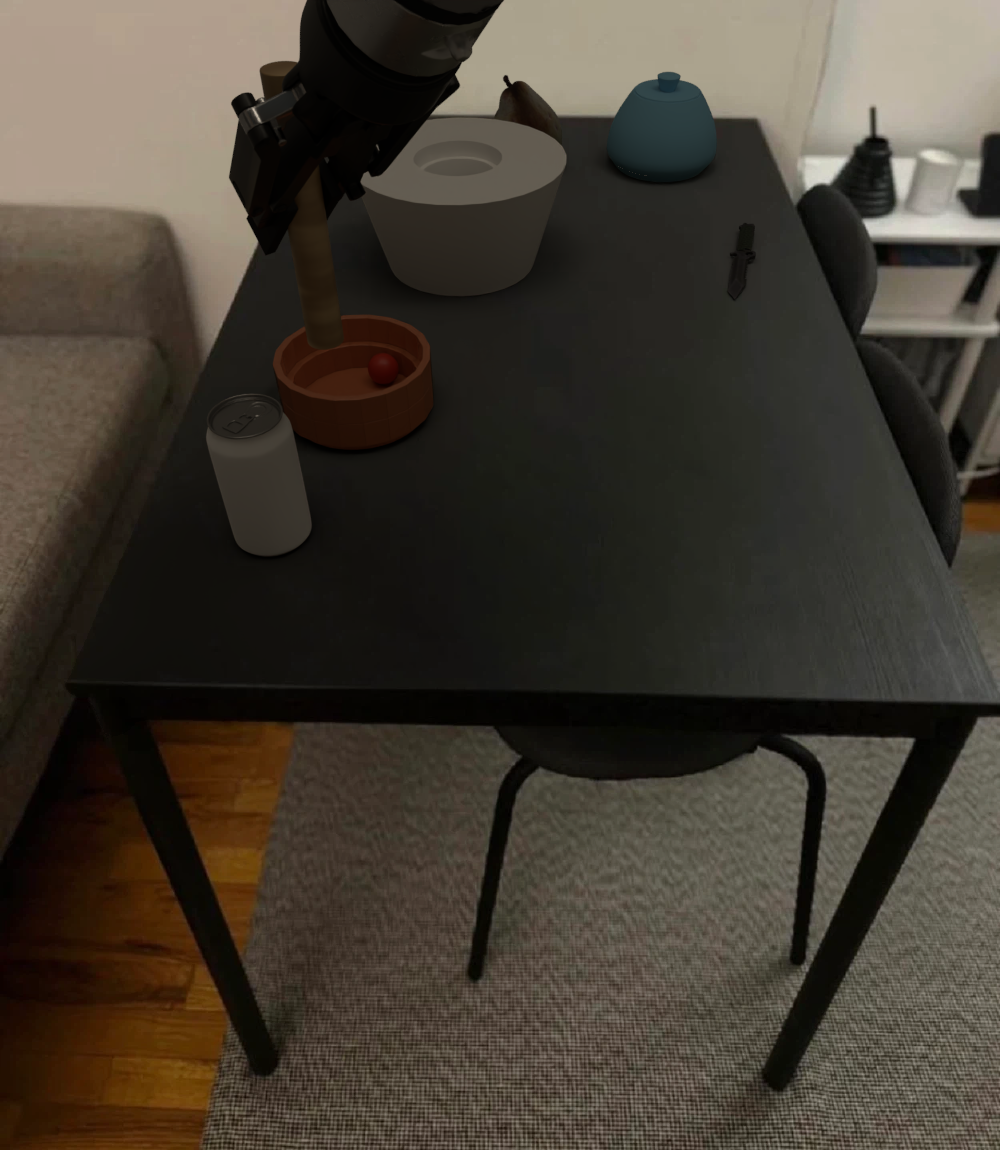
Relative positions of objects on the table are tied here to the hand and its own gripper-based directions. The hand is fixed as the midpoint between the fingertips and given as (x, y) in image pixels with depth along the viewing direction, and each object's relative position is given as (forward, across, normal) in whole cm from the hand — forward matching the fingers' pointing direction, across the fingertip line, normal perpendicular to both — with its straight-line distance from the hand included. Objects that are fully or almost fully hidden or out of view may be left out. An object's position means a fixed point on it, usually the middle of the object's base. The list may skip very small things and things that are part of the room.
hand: (281, 228), depth 64 cm
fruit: (+47, +58, +13) cm, 76 cm away
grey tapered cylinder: (+36, +35, +2) cm, 50 cm away
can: (+17, -6, -18) cm, 25 cm away
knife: (+21, +60, -14) cm, 65 cm away
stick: (+2, 0, -8) cm, 8 cm away
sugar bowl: (+40, +73, +5) cm, 84 cm away
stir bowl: (+24, +9, -10) cm, 27 cm away
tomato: (+23, +13, -8) cm, 28 cm away
